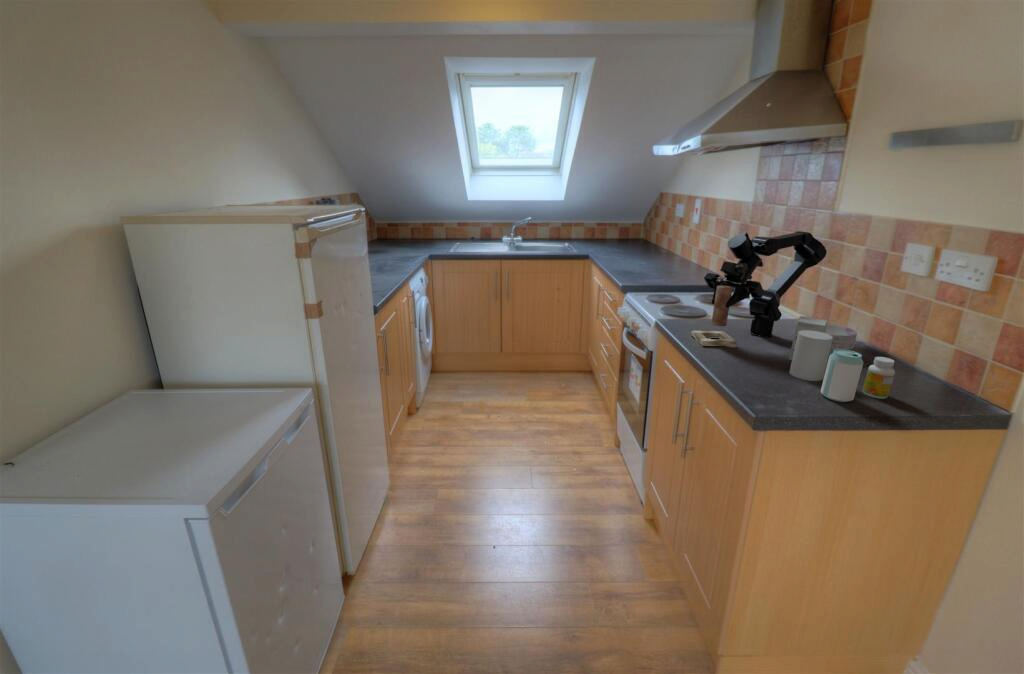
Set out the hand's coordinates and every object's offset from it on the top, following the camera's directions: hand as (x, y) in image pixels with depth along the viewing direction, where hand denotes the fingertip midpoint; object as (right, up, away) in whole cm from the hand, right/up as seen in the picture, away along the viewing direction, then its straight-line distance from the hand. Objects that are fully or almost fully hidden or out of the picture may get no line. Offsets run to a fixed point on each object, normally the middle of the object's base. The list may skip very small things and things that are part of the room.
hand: (719, 305), depth 153 cm
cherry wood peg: (+1, -6, +3) cm, 7 cm away
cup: (+16, -21, -20) cm, 33 cm away
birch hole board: (+1, -12, +7) cm, 14 cm away
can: (+15, -26, -33) cm, 45 cm away
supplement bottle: (+26, -25, -31) cm, 48 cm away
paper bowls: (+33, -15, 0) cm, 36 cm away
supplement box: (+22, -17, -8) cm, 29 cm away
